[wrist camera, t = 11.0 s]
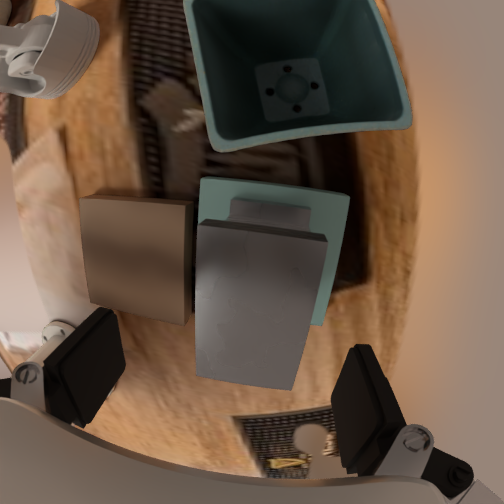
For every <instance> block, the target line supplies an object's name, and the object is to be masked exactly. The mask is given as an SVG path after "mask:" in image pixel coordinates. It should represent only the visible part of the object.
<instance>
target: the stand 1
mask: <svg viewBox="0 0 504 504" xmlns="http://www.w3.org/2000/svg"><path fill="white" fill-rule="evenodd" d="M79 208H80V226H81V239H82V249H83V258H84V265H85V273H86V279H87V286H88V291H89V297H90V302H91V303H94V304H97V305H101V306H104V307H108V308H111V309H115V310H119V311H122V312H126V313H130V314H134V315H138V316H142V317H146V318H150V319H155V320H159V321H163V322H168V323H172V324H177V325H182V326H185V324H186V323H187V321H188V319H189V317H190V316H191V314H192V239H193V215H194V201H184V200H172V199H160V198H146V197H131V196H114V195H94V194H93V195H89V196H85V197H82V198H79Z"/></svg>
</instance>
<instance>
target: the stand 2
mask: <svg viewBox="0 0 504 504" xmlns="http://www.w3.org/2000/svg"><path fill="white" fill-rule="evenodd" d="M233 197H239V198H247V199H256V200H264V201H272V202H279V203H287V204H294V205H301V206H308V207H310V208H311V216H310V222H309V227H310V230H311V232H314V233H321V234H324V235H325V237H326V238H327V240H328V242H329V243H328V248H327V253H326V258H325V263H324V267H323V272H322V277H321V281H320V286H319V290H318V295H317V299H316V303H315V307H314V311H313V315H312V319H311V323H310V325H318V326H322V324H323V321H324V317H325V313H326V309H327V306H328V302H329V298H330V294H331V290H332V285H333V281H334V277H335V273H336V268H337V264H338V259H339V254H340V250H341V245H342V240H343V235H344V229H345V224H346V219H347V213H348V207H349V201H350V197H349V196H348V195H346V194H344V193H339V192H333V191H327V190H321V189H314V188H307V187H301V186H293V185H286V184H278V183H270V182H262V181H253V180H243V179H233V178H222V177H210V176H208V177H204V178H201V182H200V196H199V213H198V224H199V223H201V222H202V221H203V220H205V219H206V218H207V219H215V220H225V219H226V218H227V217H228V216H229V213H230V202H231V199H232V198H233Z"/></svg>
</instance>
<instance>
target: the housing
mask: <svg viewBox="0 0 504 504" xmlns="http://www.w3.org/2000/svg"><path fill="white" fill-rule="evenodd" d="M310 216H311V208H310V207H308V206H301V205H294V204H287V203H279V202H272V201H264V200H256V199H247V198H239V197H233V198H232V199H231V202H230V213H229V216H228V217H227V218H226V219H225V220H215V219H207V218H206V219H205V220H203V221H202V222H201V223H199V224H198V225H197V248H196V284H195V349H196V376H200V377H205V378H210V379H215V380H220V381H225V382H231V383H237V384H243V385H250V386H257V387H264V388H272V389H281V390H290V391H291V390H292V387H293V384H294V381H295V377H296V374H297V371H298V367H299V364H300V360H301V357H302V353H303V350H304V346H305V342H306V339H307V335H308V331H309V327H310V323H311V319H312V315H313V311H314V307H315V303H316V299H317V295H318V290H319V286H320V281H321V277H322V272H323V267H324V263H325V258H326V253H327V248H328V243H329V242H328V240H327V238H326V237H325V235H324V234H321V233H314V232H311V230H310V227H309V222H310Z"/></svg>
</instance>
